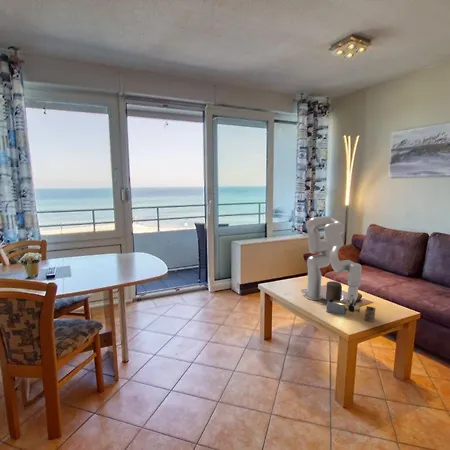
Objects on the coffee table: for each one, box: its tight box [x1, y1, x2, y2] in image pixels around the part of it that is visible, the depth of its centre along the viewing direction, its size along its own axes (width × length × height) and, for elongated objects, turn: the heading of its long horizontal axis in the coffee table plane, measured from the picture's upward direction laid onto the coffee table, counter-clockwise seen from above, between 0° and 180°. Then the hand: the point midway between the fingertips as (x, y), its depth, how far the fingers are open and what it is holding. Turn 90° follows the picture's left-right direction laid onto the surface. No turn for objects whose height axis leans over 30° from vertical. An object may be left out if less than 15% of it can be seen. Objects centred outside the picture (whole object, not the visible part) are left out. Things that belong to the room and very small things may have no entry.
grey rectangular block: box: [325, 299, 348, 317], centre depth 197 cm, size 11×6×7 cm, turn 58°
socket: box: [364, 305, 376, 323], centre depth 187 cm, size 5×7×7 cm
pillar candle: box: [325, 281, 342, 303], centre depth 213 cm, size 10×10×15 cm
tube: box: [333, 302, 361, 313], centre depth 194 cm, size 16×4×4 cm, turn 58°
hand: (352, 309), depth 193 cm, fingers open, 4 cm apart
